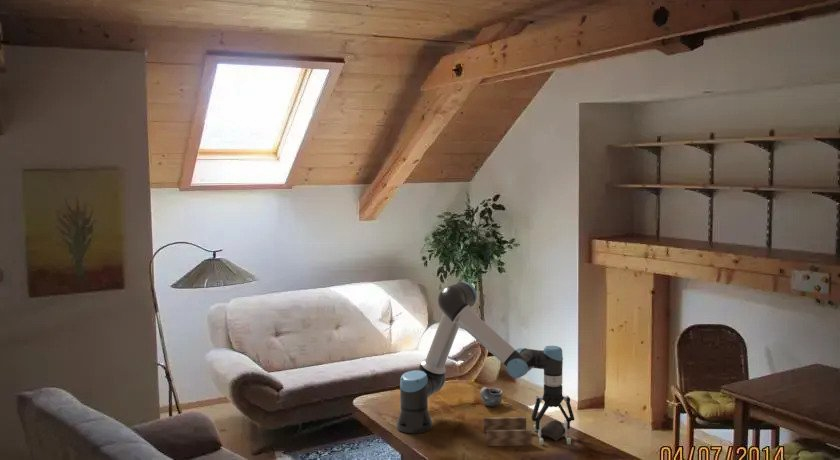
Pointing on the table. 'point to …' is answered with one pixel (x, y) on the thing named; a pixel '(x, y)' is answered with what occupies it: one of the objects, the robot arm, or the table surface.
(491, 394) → the mug
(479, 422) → the table surface
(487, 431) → the channel
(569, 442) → the zone posts
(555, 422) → the stone
